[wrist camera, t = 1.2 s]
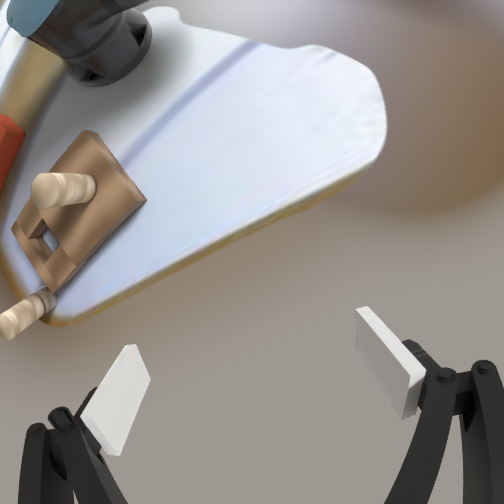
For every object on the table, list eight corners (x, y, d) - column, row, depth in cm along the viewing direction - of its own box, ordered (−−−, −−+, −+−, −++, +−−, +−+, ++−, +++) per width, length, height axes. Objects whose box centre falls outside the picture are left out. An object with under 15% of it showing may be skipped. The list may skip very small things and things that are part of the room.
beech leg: (38, 294, 41) (-8, 324, 28) (47, 281, 41) (-1, 310, 27) (51, 311, 42) (7, 345, 28) (61, 299, 42) (14, 333, 28)
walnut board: (24, 225, 38) (-29, 240, 25) (97, 133, 36) (43, 117, 22) (65, 286, 41) (16, 318, 27) (147, 200, 39) (102, 207, 25)
